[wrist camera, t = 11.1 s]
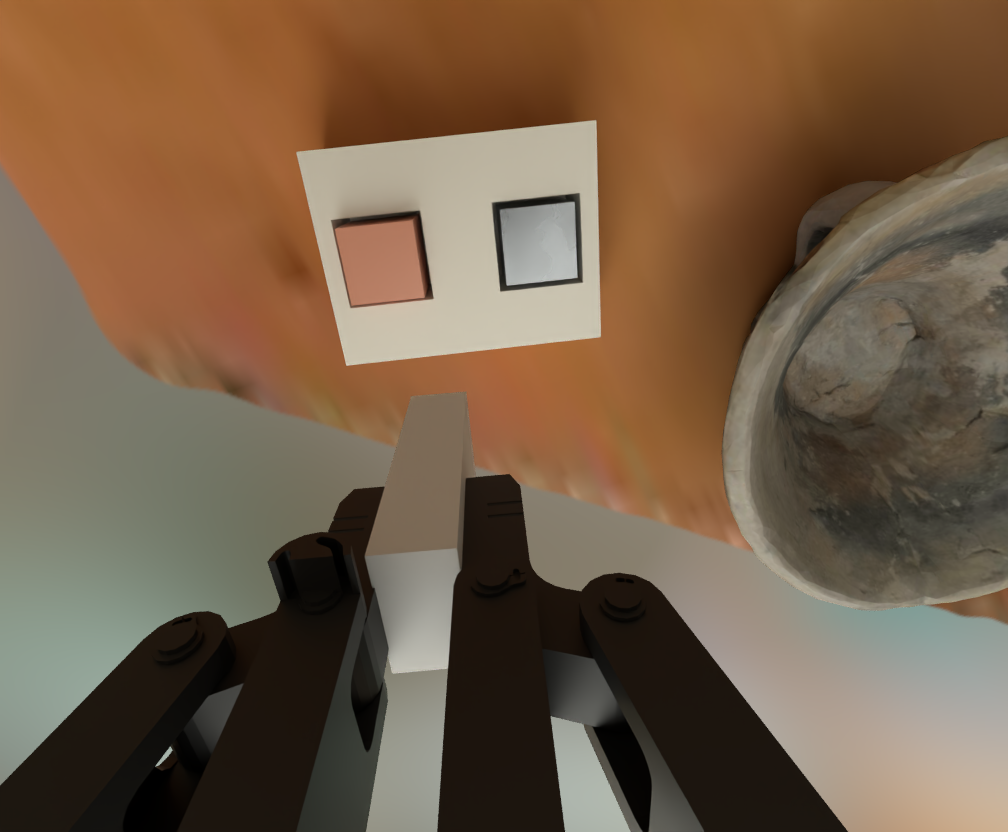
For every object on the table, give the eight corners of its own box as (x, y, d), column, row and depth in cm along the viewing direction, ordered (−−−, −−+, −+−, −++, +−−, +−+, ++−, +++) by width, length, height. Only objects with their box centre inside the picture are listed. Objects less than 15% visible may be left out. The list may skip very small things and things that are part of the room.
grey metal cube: (495, 204, 34) (499, 209, 30) (561, 197, 34) (574, 201, 30) (502, 272, 36) (506, 285, 32) (564, 265, 36) (577, 277, 32)
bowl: (645, 168, 35) (756, 168, 22) (1040, 118, 36) (1395, 88, 22) (645, 505, 47) (718, 644, 33) (945, 466, 47) (1139, 588, 33)
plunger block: (323, 154, 34) (296, 152, 28) (575, 127, 34) (596, 120, 29) (363, 337, 39) (346, 365, 33) (582, 313, 39) (600, 336, 34)
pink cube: (351, 221, 33) (334, 228, 29) (418, 213, 33) (412, 220, 29) (365, 289, 35) (351, 305, 31) (429, 282, 35) (424, 297, 31)
